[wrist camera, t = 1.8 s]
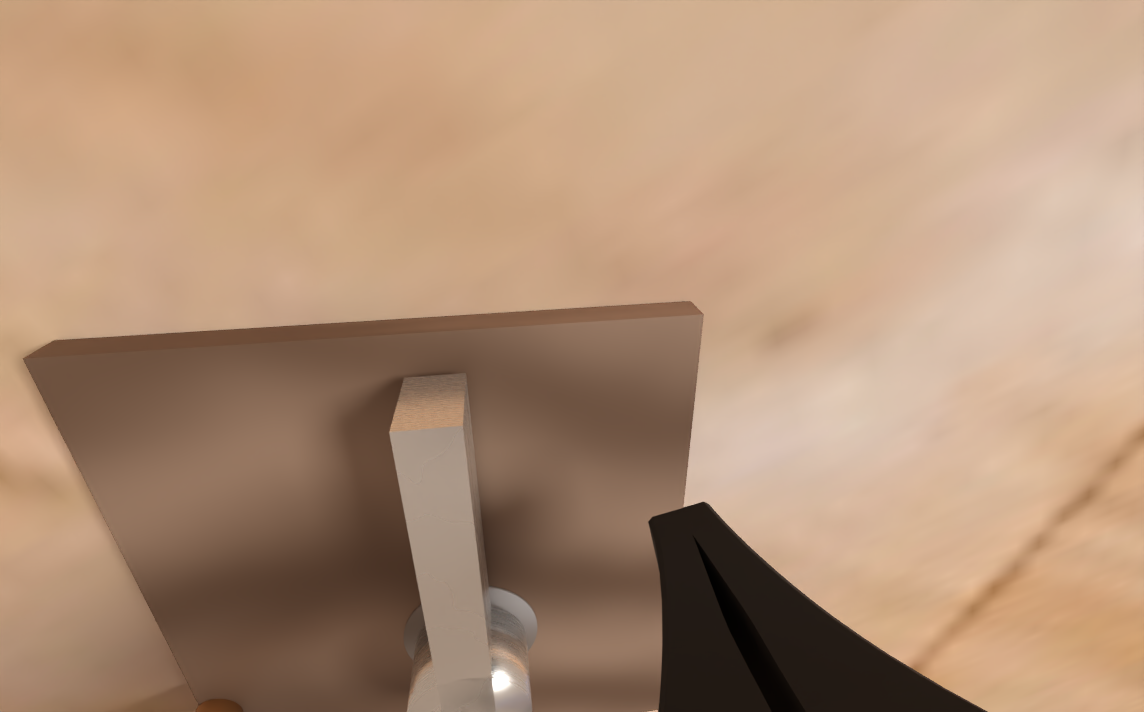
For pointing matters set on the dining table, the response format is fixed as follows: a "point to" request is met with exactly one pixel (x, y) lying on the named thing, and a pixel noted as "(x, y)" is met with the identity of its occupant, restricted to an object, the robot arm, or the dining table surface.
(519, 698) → the cap handle
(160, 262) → the dining table surface
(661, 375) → the base board
